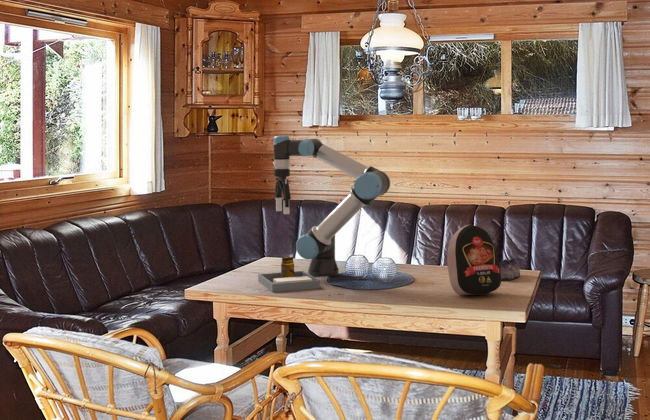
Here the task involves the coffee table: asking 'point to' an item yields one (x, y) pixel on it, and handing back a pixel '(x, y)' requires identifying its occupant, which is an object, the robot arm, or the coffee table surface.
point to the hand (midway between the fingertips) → (282, 212)
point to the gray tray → (279, 287)
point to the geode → (509, 269)
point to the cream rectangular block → (291, 279)
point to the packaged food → (473, 262)
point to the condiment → (287, 267)
